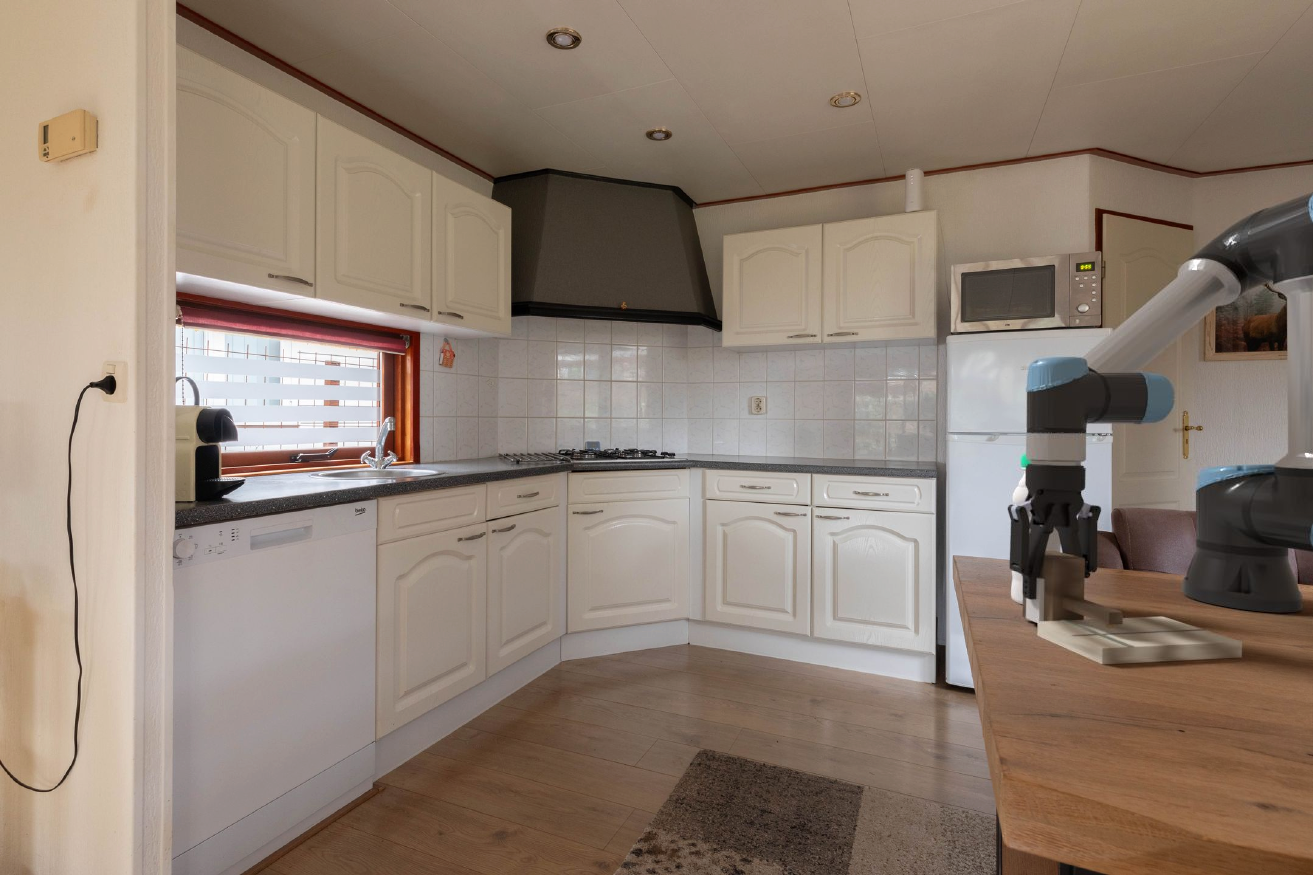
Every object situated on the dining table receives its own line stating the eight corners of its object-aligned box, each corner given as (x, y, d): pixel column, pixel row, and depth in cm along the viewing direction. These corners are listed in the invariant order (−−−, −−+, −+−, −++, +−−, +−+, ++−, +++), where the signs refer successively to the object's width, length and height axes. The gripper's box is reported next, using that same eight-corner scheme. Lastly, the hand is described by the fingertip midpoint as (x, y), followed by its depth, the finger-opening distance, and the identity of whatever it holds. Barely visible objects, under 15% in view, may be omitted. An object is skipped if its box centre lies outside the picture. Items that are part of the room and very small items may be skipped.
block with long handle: (1052, 615, 98) (1053, 550, 98) (1132, 646, 84) (1133, 570, 84) (1022, 616, 97) (1023, 551, 97) (1098, 647, 83) (1099, 571, 83)
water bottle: (1056, 600, 109) (1058, 453, 108) (1063, 611, 102) (1065, 455, 102) (1009, 595, 112) (1011, 452, 111) (1012, 605, 105) (1014, 454, 105)
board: (1162, 630, 93) (1162, 615, 93) (1241, 657, 82) (1242, 641, 82) (1037, 635, 90) (1037, 620, 90) (1102, 664, 79) (1102, 647, 79)
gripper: (1089, 461, 99) (1086, 610, 99) (982, 461, 97) (979, 614, 97) (1131, 464, 92) (1128, 625, 92) (1016, 464, 89) (1014, 630, 90)
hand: (1052, 619), depth 94 cm, fingers closed on block with long handle, 5 cm apart
